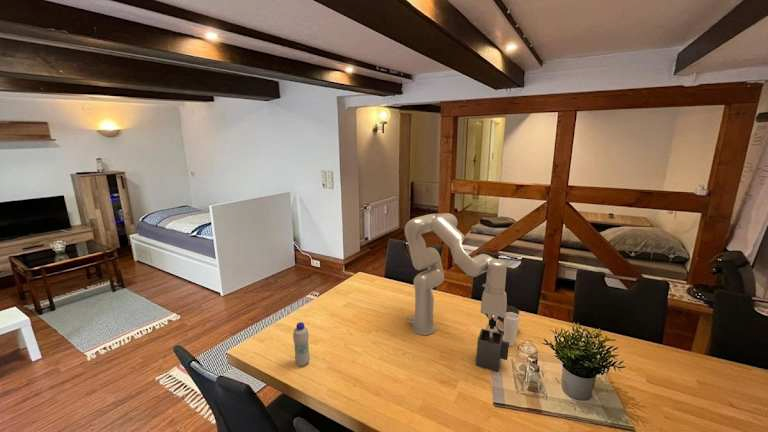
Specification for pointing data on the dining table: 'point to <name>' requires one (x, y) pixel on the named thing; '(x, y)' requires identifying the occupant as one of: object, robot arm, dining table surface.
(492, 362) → the block
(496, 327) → the plunger
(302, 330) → the bottle
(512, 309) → the supplement container
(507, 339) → the drinking glass
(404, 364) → the dining table surface
